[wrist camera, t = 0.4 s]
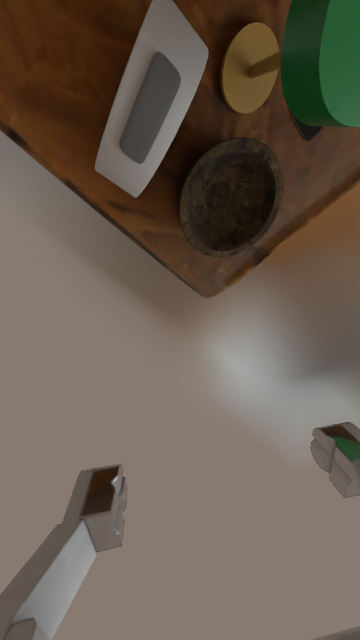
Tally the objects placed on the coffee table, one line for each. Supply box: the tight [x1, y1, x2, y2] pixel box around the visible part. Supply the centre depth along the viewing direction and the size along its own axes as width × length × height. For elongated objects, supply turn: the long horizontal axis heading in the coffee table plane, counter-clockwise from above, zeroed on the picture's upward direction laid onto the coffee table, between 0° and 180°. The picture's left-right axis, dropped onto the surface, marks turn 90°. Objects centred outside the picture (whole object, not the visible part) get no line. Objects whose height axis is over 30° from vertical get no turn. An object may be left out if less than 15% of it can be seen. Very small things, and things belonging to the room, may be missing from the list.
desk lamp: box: [220, 0, 360, 127], centre depth 26 cm, size 13×13×30 cm
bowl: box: [179, 137, 283, 257], centre depth 45 cm, size 22×22×10 cm
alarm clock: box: [95, 0, 208, 198], centre depth 31 cm, size 21×8×20 cm, turn 144°
